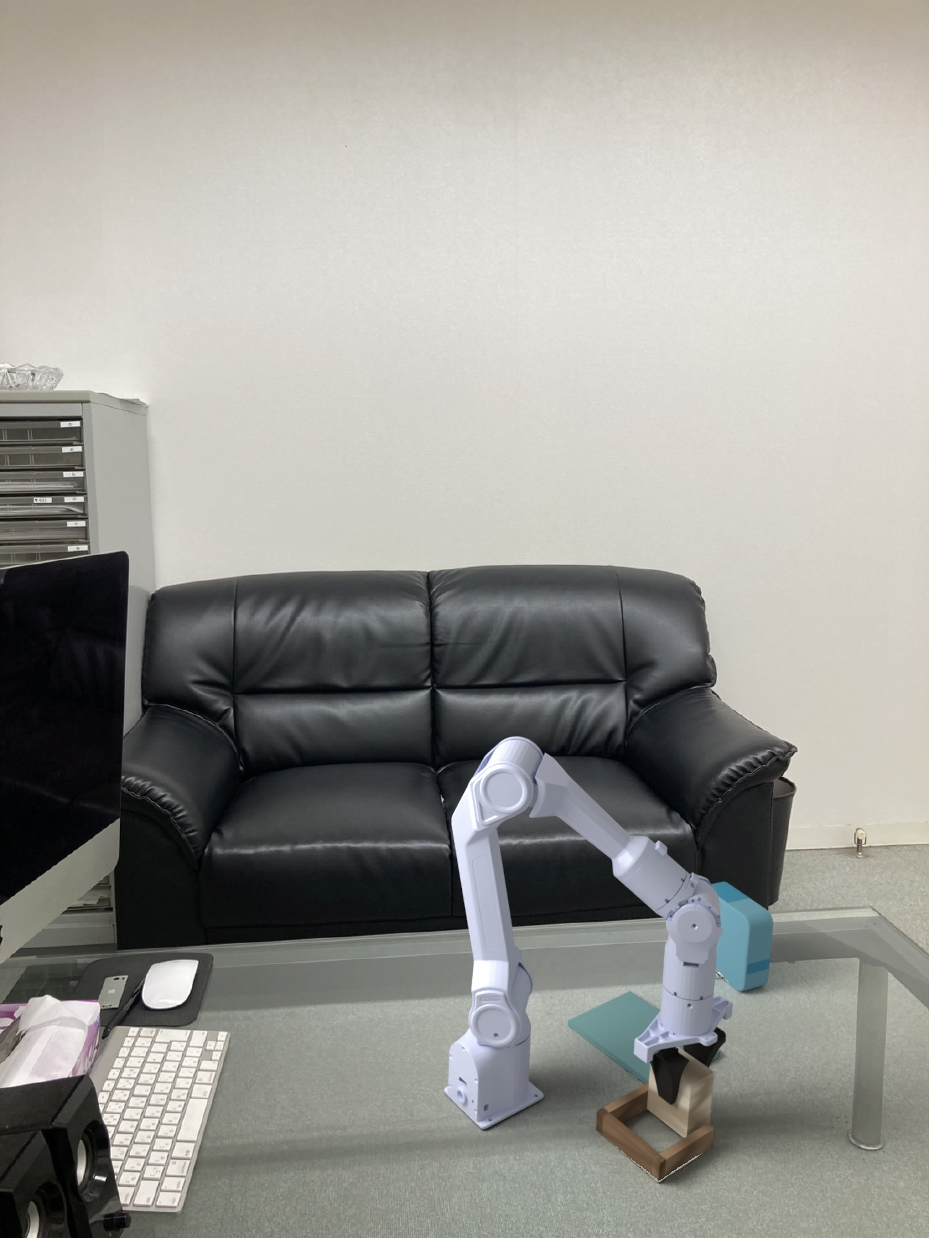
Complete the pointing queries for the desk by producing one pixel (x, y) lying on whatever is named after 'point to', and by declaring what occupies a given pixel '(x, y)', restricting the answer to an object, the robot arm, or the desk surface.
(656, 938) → the desk surface
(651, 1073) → the ash blank
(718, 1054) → the slate-teal mat
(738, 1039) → the desk surface
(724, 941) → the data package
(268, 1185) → the desk surface
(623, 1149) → the frame
